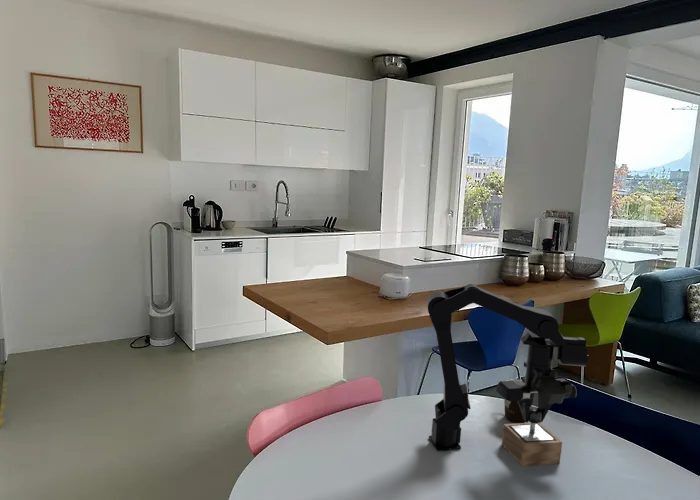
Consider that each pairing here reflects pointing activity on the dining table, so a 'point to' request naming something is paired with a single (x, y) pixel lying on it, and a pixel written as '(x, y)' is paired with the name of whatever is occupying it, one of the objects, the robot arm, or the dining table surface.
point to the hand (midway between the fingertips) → (533, 421)
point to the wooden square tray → (531, 447)
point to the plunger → (532, 428)
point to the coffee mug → (515, 407)
